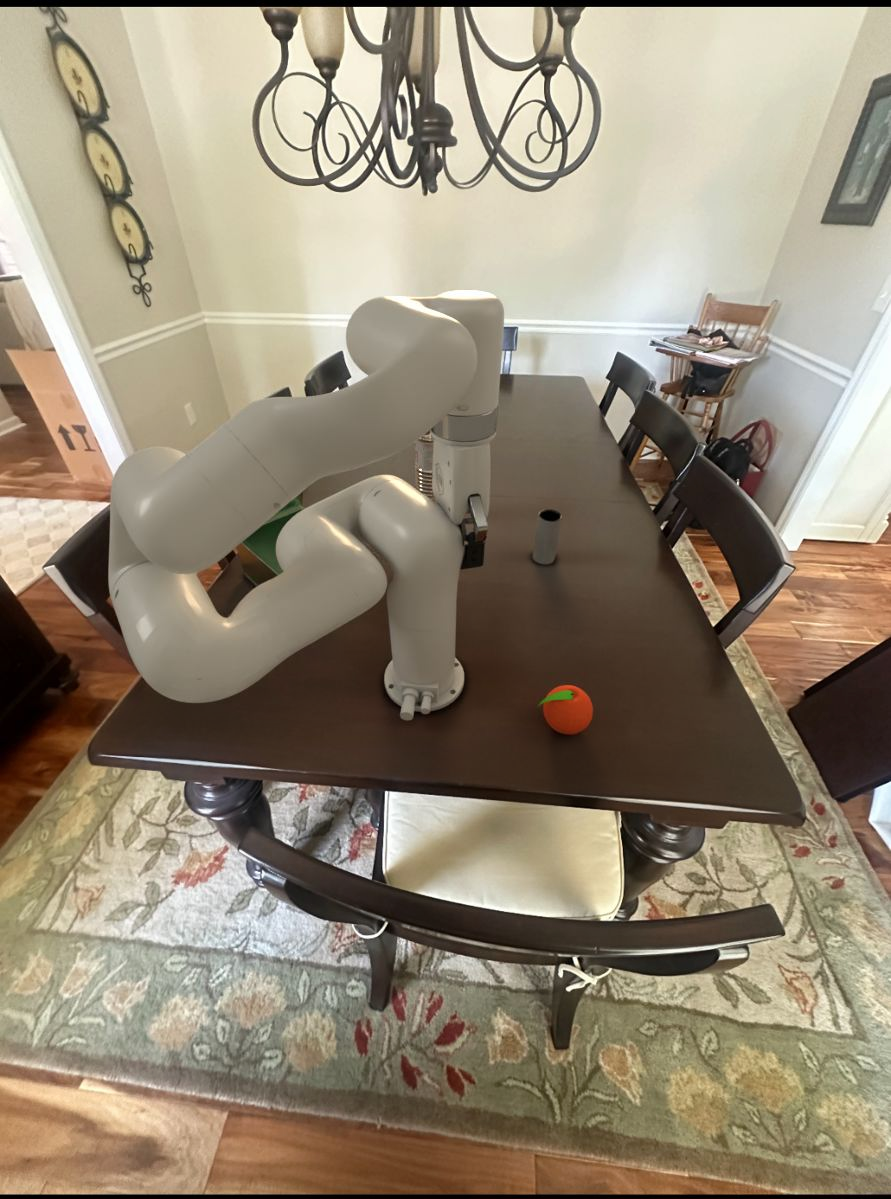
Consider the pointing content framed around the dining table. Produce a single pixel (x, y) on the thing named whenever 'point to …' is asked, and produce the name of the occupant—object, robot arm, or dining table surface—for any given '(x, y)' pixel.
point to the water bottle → (424, 465)
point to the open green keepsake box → (263, 549)
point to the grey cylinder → (547, 536)
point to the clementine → (567, 709)
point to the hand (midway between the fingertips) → (460, 545)
